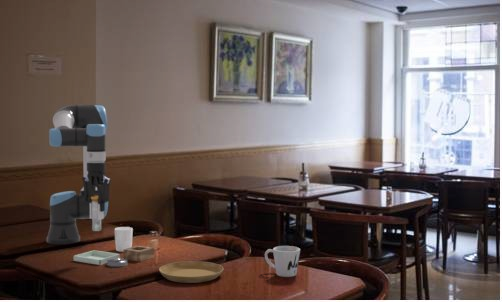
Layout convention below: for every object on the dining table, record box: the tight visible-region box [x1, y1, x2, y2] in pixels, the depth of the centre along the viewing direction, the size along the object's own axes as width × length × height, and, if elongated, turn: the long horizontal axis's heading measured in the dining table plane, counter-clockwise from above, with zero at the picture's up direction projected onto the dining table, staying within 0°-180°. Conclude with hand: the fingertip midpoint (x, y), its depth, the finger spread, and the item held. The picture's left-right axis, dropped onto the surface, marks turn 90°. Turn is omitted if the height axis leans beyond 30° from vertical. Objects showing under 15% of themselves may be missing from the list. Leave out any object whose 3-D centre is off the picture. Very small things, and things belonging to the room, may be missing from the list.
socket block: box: [122, 245, 155, 262], centre depth 261 cm, size 9×9×4 cm
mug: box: [264, 245, 301, 278], centre depth 240 cm, size 10×15×10 cm
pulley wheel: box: [106, 257, 129, 268], centre depth 250 cm, size 8×8×3 cm
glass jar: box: [91, 196, 102, 232], centre depth 256 cm, size 5×5×14 cm
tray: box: [73, 249, 121, 266], centre depth 257 cm, size 14×12×2 cm
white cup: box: [114, 226, 134, 252], centre depth 276 cm, size 8×8×10 cm
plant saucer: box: [158, 260, 224, 284], centre depth 235 cm, size 24×24×3 cm
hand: (96, 218), depth 256 cm, fingers closed on glass jar, 3 cm apart
